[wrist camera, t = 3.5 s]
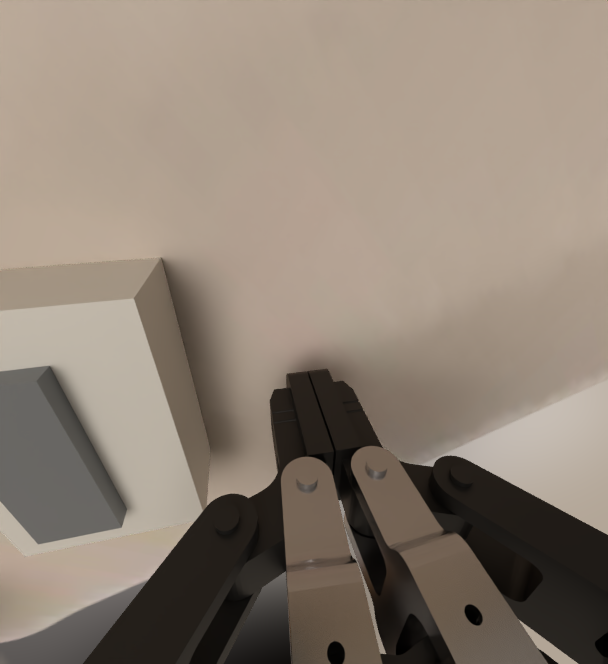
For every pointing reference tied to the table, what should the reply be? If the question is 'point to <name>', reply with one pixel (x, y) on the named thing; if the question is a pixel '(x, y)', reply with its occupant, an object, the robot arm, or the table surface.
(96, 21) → the table surface
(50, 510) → the block
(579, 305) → the table surface
